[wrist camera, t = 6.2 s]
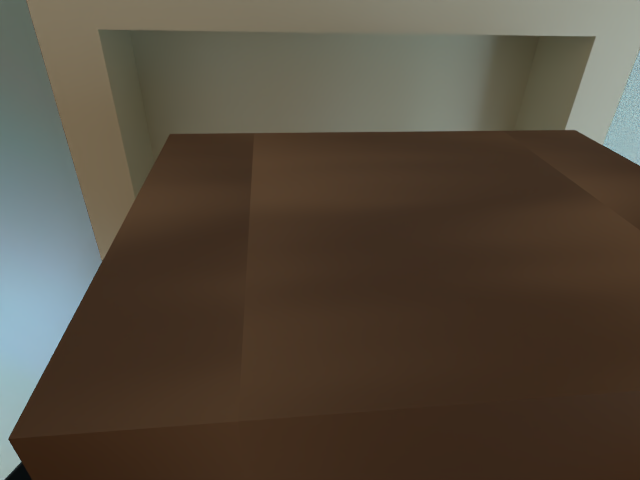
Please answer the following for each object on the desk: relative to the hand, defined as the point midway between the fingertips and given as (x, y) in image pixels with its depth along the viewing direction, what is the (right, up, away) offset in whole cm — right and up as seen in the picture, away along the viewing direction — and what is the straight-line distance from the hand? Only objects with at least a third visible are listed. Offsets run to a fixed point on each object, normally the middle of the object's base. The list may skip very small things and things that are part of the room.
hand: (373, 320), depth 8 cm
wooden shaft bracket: (0, 0, +1) cm, 1 cm away
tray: (-1, +3, +4) cm, 5 cm away
